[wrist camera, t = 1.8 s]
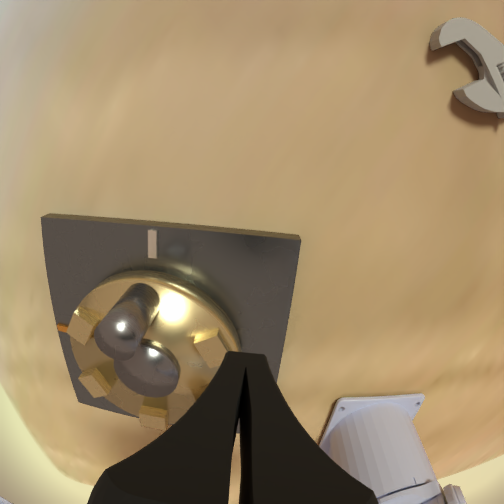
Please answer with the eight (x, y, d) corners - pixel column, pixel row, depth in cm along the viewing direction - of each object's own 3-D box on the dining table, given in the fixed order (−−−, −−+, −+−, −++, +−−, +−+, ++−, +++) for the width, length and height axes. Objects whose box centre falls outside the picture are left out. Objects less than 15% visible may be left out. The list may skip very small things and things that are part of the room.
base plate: (265, 426, 23) (265, 437, 22) (82, 394, 23) (77, 403, 22) (298, 235, 18) (301, 241, 17) (49, 213, 18) (39, 217, 16)
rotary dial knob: (235, 416, 21) (230, 479, 16) (96, 391, 21) (67, 442, 15) (249, 281, 17) (244, 341, 12) (71, 259, 17) (16, 301, 12)
